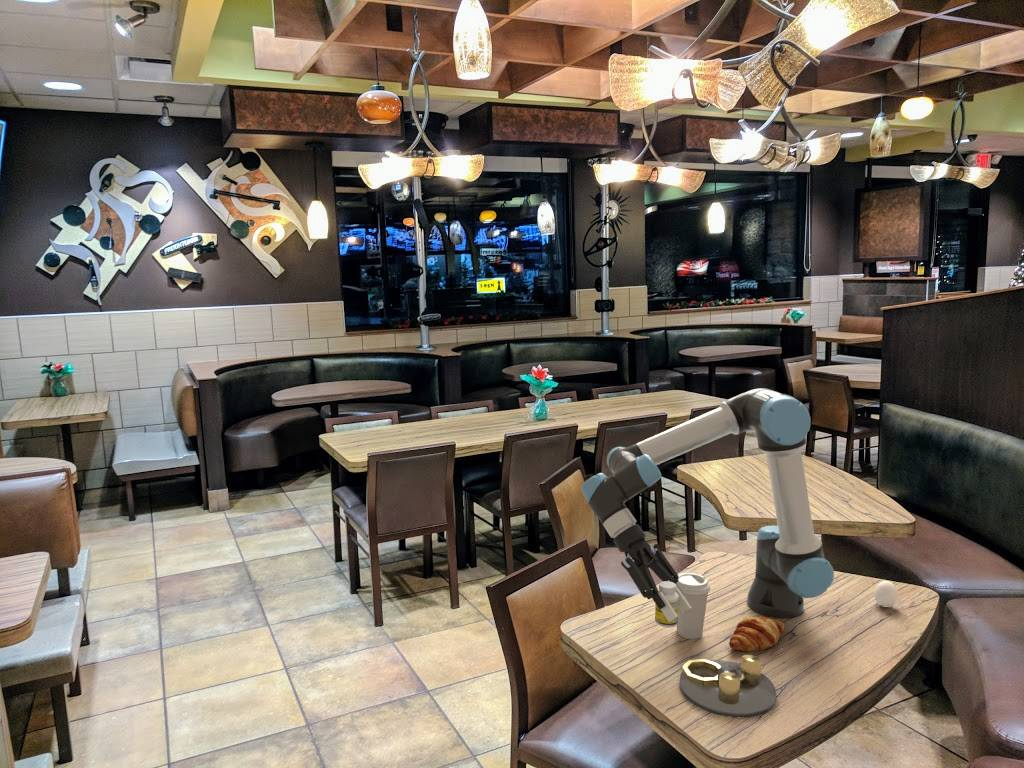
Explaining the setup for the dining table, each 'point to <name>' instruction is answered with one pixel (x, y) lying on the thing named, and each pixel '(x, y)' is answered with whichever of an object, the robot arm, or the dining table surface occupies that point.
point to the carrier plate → (746, 693)
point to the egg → (886, 594)
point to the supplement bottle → (673, 599)
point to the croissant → (756, 634)
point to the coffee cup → (692, 605)
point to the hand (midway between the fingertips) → (680, 614)
